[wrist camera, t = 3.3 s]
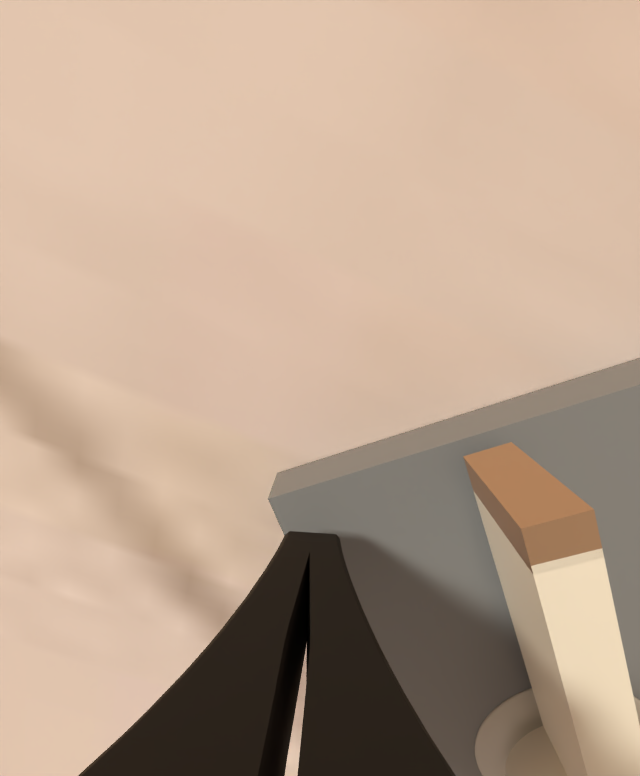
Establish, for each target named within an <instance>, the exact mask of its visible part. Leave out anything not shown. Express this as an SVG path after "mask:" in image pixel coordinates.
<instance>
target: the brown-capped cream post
mask: <svg viewBox="0 0 640 776" xmlns="http://www.w3.org/2000/svg"><path fill="white" fill-rule="evenodd" d="M463 458H464V461H465V464H466V468H467V471H468V475H469V478H470V481H471V485H472V488H473V491H474V495H475V498H476V501H477V505H478V508H479V512H480V515H481V518H482V522H483V525H484V528H485V532H486V535H487V538H488V542H489V545H490V549H491V552H492V555H493V559H494V562H495V565H496V569H497V572H498V575H499V579H500V582H501V586H502V589H503V592H504V596H505V599H506V602H507V606H508V609H509V612H510V616H511V619H512V622H513V626H514V629H515V633H516V636H517V639H518V643H519V646H520V649H521V653H522V656H523V659H524V663H525V666H526V670H527V673H528V676H529V680H530V683H531V686H532V690H533V693H534V696H535V700H536V703H537V707H538V710H539V713H540V717H541V720H542V723H543V726H541V727H539V728H536V729H535V730H533V731H531V732H529V733H528V734H526V735H525V736H524V737H522V738H521V739H520V740H519V741H518V742H517V743H516V744H515V745H514V747H513V748H512V749H511V751H510V753H509V755H508V758H507V760H506V766H505V770H506V776H640V725H639V721H638V716H637V711H636V706H635V702H634V697H633V692H632V687H631V683H630V678H629V673H628V668H627V664H626V659H625V654H624V649H623V645H622V640H621V635H620V630H619V626H618V621H617V616H616V611H615V607H614V602H613V597H612V592H611V588H610V583H609V578H608V573H607V569H606V564H605V559H604V554H603V550H602V545H601V540H600V535H599V531H598V526H597V521H596V516H595V512H594V509H593V508H592V507H591V506H589V505H588V504H587V503H586V502H584V501H583V500H582V499H581V498H580V497H578V496H577V495H576V494H575V493H573V492H572V491H571V490H570V489H568V488H567V487H566V486H565V485H564V484H562V483H561V482H560V481H559V480H557V479H556V478H555V477H554V476H553V475H551V474H550V473H549V472H548V471H546V470H545V469H544V468H543V467H541V466H540V465H539V464H538V463H537V462H535V461H534V460H533V459H532V458H530V457H529V456H528V455H527V454H526V453H524V452H523V451H522V450H521V449H519V448H518V447H517V446H516V445H514V444H513V443H512V442H510V443H506V444H503V445H500V446H496V447H493V448H490V449H486V450H483V451H480V452H476V453H473V454H470V455H466V456H463Z"/></svg>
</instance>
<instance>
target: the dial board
mask: <svg viewBox="0 0 640 776" xmlns="http://www.w3.org/2000/svg"><path fill="white" fill-rule="evenodd" d="M510 442H512V443H513V444H514V445H516V446H517V447H518V448H519V449H521V450H522V451H523V452H524V453H526V454H527V455H528V456H529V457H530V458H532V459H533V460H534V461H535V462H537V463H538V464H539V465H540V466H541V467H543V468H544V469H545V470H546V471H548V472H549V473H550V474H551V475H553V476H554V477H555V478H556V479H557V480H559V481H560V482H561V483H562V484H564V485H565V486H566V487H567V488H568V489H570V490H571V491H572V492H573V493H575V494H576V495H577V496H578V497H580V498H581V499H582V500H583V501H584V502H586V503H587V504H588V505H589V506H591V507H592V508H593V509H594V512H595V516H596V521H597V526H598V531H599V535H600V540H601V545H602V550H603V554H604V559H605V564H606V569H607V573H608V578H609V583H610V588H611V592H612V597H613V602H614V607H615V611H616V616H617V621H618V626H619V630H620V635H621V640H622V645H623V649H624V654H625V659H626V664H627V668H628V673H629V678H630V683H631V687H632V692H633V697H634V702H635V706H636V711H637V716H638V721H639V725H640V358H638V359H635V360H632V361H629V362H626V363H623V364H620V365H616V366H613V367H610V368H607V369H604V370H601V371H598V372H594V373H591V374H588V375H585V376H582V377H579V378H575V379H572V380H569V381H566V382H563V383H560V384H557V385H553V386H550V387H547V388H544V389H541V390H538V391H535V392H531V393H528V394H525V395H522V396H519V397H516V398H512V399H509V400H506V401H503V402H500V403H497V404H494V405H490V406H487V407H484V408H481V409H478V410H475V411H472V412H468V413H465V414H462V415H459V416H456V417H453V418H449V419H446V420H443V421H440V422H437V423H434V424H431V425H427V426H424V427H421V428H418V429H415V430H412V431H409V432H405V433H402V434H399V435H396V436H393V437H390V438H387V439H383V440H380V441H377V442H374V443H371V444H368V445H364V446H361V447H358V448H355V449H352V450H349V451H346V452H342V453H339V454H336V455H333V456H330V457H327V458H324V459H320V460H317V461H314V462H311V463H308V464H305V465H301V466H298V467H295V468H292V469H289V470H286V471H283V472H279V473H277V475H276V478H275V481H274V484H273V486H272V489H271V492H270V495H269V498H268V500H269V502H270V504H271V507H272V509H273V511H274V513H275V515H276V518H277V520H278V522H279V524H280V526H281V529H282V531H283V533H284V535H285V534H287V533H288V532H289V531H296V532H311V533H326V534H336V535H337V536H338V537H339V538H340V542H341V548H342V552H343V556H344V559H345V563H346V566H347V569H348V572H349V575H350V578H351V581H352V584H353V586H354V589H355V591H356V594H357V596H358V599H359V601H360V604H361V606H362V609H363V611H364V613H365V615H366V618H367V620H368V622H369V624H370V627H371V629H372V631H373V633H374V635H375V637H376V639H377V641H378V643H379V646H380V648H381V650H382V652H383V654H384V656H385V657H386V659H387V661H388V663H389V665H390V667H391V669H392V671H393V673H394V675H395V676H396V678H397V680H398V682H399V684H400V685H401V687H402V689H403V691H404V693H405V694H406V696H407V698H408V700H409V701H410V703H411V705H412V706H413V708H414V710H415V712H416V713H417V715H418V717H419V718H420V720H421V722H422V723H423V725H424V727H425V729H426V730H427V732H428V733H429V735H430V737H431V738H432V740H433V741H434V743H435V744H436V746H437V747H438V749H439V751H440V752H441V754H442V755H443V757H444V758H445V760H446V761H447V763H448V764H449V766H450V767H451V769H452V771H453V772H454V774H455V775H456V776H506V770H505V766H506V760H507V758H508V755H509V753H510V751H511V749H512V748H513V747H514V745H515V744H516V743H517V742H518V741H519V740H520V739H521V738H522V737H524V736H525V735H526V734H528V733H529V732H531V731H533V730H535V729H536V728H539V727H541V726H543V723H542V720H541V717H540V713H539V710H538V707H537V703H536V700H535V696H534V693H533V690H532V686H531V683H530V680H529V676H528V673H527V670H526V666H525V663H524V659H523V656H522V653H521V649H520V646H519V643H518V639H517V636H516V633H515V629H514V626H513V622H512V619H511V616H510V612H509V609H508V606H507V602H506V599H505V596H504V592H503V589H502V586H501V582H500V579H499V575H498V572H497V569H496V565H495V562H494V559H493V555H492V552H491V549H490V545H489V542H488V538H487V535H486V532H485V528H484V525H483V522H482V518H481V515H480V512H479V508H478V505H477V501H476V498H475V495H474V491H473V488H472V485H471V481H470V478H469V475H468V471H467V468H466V464H465V461H464V458H463V456H466V455H470V454H473V453H476V452H480V451H483V450H486V449H490V448H493V447H496V446H500V445H503V444H506V443H510Z"/></svg>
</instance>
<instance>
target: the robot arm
mask: <svg viewBox="0 0 640 776" xmlns="http://www.w3.org/2000/svg"><path fill="white" fill-rule="evenodd" d="M306 643H307V685H306V696H305V706H304V717H303V727H302V737H301V747H300V758H299V768H298V776H456V775H455V774H454V772H453V771H452V769H451V767H450V766H449V764H448V763H447V761H446V760H445V758H444V757H443V755H442V754H441V752H440V751H439V749H438V747H437V746H436V744H435V743H434V741H433V740H432V738H431V737H430V735H429V733H428V732H427V730H426V729H425V727H424V725H423V723H422V722H421V720H420V718H419V717H418V715H417V713H416V712H415V710H414V708H413V706H412V705H411V703H410V701H409V700H408V698H407V696H406V694H405V693H404V691H403V689H402V687H401V685H400V684H399V682H398V680H397V678H396V676H395V675H394V673H393V671H392V669H391V667H390V665H389V663H388V661H387V659H386V657H385V656H384V654H383V652H382V650H381V648H380V646H379V643H378V641H377V639H376V637H375V635H374V633H373V631H372V629H371V627H370V624H369V622H368V620H367V618H366V615H365V613H364V611H363V609H362V606H361V604H360V601H359V599H358V596H357V594H356V591H355V589H354V586H353V584H352V581H351V578H350V575H349V572H348V569H347V566H346V563H345V559H344V556H343V552H342V548H341V542H340V538H339V537H338V536H337V535H336V534H326V533H311V532H296V531H289V532H288V533H287V534H285V536H284V538H283V540H282V542H281V544H280V546H279V548H278V550H277V551H276V553H275V555H274V556H273V558H272V560H271V561H270V563H269V564H268V566H267V568H266V569H265V571H264V572H263V574H262V575H261V577H260V578H259V580H258V581H257V582H256V584H255V585H254V587H253V588H252V590H251V591H250V593H249V594H248V595H247V597H246V598H245V600H244V601H243V602H242V604H241V605H240V606H239V607H238V609H237V610H236V611H235V613H234V614H233V615H232V616H231V618H230V619H229V620H228V622H227V623H226V624H225V626H224V627H223V628H222V629H221V631H220V632H219V633H218V634H217V635H216V637H215V638H214V639H213V640H212V641H211V643H210V644H209V645H208V646H207V647H206V648H205V650H204V651H203V652H202V653H201V654H200V655H199V656H198V658H197V659H196V660H195V661H194V662H193V663H192V664H191V665H190V667H189V668H188V669H187V670H186V671H185V672H184V673H183V674H182V675H181V676H180V678H179V679H178V680H177V681H176V682H175V683H174V684H173V685H172V686H171V687H170V688H169V689H168V690H167V691H166V692H165V693H164V694H163V695H162V696H161V697H160V698H159V699H158V700H157V701H156V702H155V703H154V705H153V706H152V707H151V708H150V709H149V710H148V711H147V712H146V713H145V714H144V715H143V716H142V717H141V718H140V719H139V720H138V721H137V722H136V723H135V724H133V725H132V726H131V727H130V728H129V729H128V730H127V731H126V732H125V733H124V734H123V735H122V736H121V737H120V738H119V739H118V740H117V741H116V742H114V743H113V744H112V745H111V746H110V747H109V748H108V749H107V750H106V751H105V752H104V753H102V754H101V755H100V756H99V757H98V758H97V759H96V760H95V761H94V762H93V763H92V764H90V765H89V766H88V767H87V768H86V769H85V770H84V771H83V772H82V773H81V774H80V775H78V776H284V775H285V768H286V761H287V754H288V749H289V743H290V737H291V731H292V725H293V719H294V714H295V708H296V702H297V696H298V690H299V684H300V679H301V673H302V667H303V661H304V655H305V649H306Z"/></svg>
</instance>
